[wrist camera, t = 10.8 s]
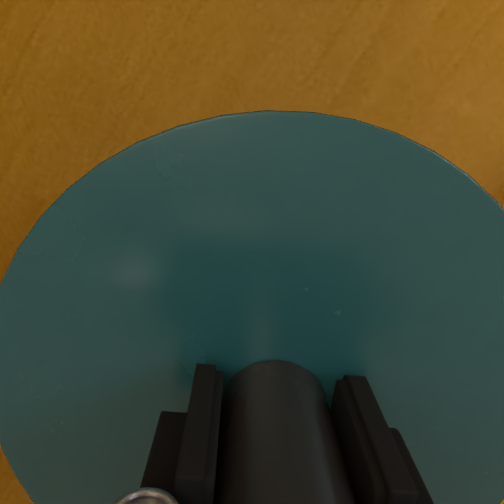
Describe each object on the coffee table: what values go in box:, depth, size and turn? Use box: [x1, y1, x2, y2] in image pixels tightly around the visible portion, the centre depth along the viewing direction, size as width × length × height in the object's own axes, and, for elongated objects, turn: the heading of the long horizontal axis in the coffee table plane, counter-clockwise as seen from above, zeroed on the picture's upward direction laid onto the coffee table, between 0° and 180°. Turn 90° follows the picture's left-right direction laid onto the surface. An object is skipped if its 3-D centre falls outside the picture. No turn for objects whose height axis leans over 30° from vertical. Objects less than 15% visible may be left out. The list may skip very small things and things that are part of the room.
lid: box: [0, 110, 504, 504], centre depth 11 cm, size 16×16×7 cm
